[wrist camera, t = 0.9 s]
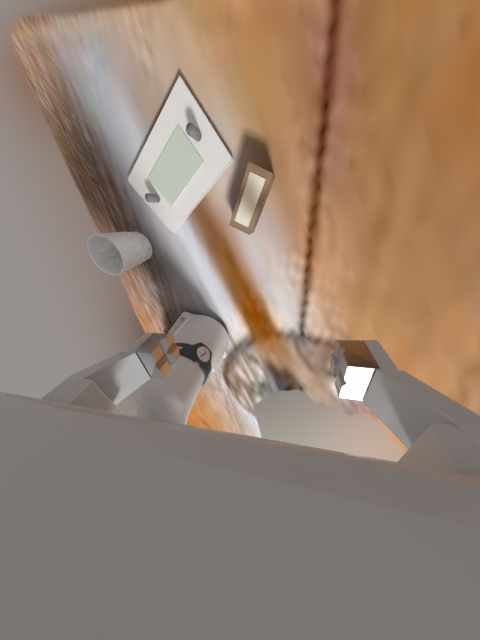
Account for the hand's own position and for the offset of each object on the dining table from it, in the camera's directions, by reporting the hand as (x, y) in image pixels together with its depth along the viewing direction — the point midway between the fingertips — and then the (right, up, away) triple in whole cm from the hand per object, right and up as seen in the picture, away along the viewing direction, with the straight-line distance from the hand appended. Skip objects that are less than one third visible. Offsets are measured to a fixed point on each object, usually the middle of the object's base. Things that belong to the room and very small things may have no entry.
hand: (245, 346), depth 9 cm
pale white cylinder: (-25, +20, +34) cm, 46 cm away
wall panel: (-12, +29, +23) cm, 39 cm away
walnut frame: (+2, +23, +24) cm, 33 cm away
